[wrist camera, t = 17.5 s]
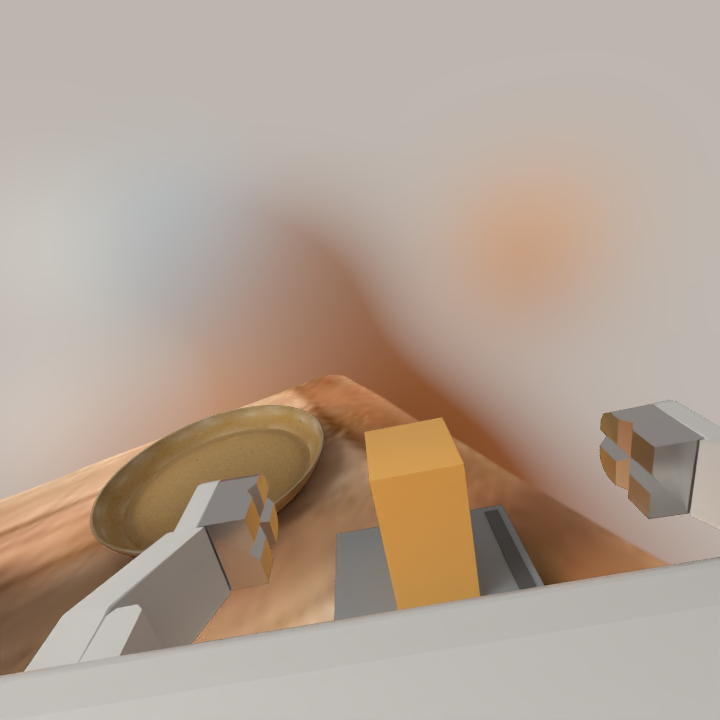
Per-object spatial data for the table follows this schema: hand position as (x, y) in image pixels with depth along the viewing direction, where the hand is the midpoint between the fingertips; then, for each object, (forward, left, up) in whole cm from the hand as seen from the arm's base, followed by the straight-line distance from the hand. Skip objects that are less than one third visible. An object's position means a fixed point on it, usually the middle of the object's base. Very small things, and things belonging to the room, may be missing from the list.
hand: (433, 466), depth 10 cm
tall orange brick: (-9, +8, -17) cm, 21 cm away
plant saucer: (-36, +4, -20) cm, 41 cm away
